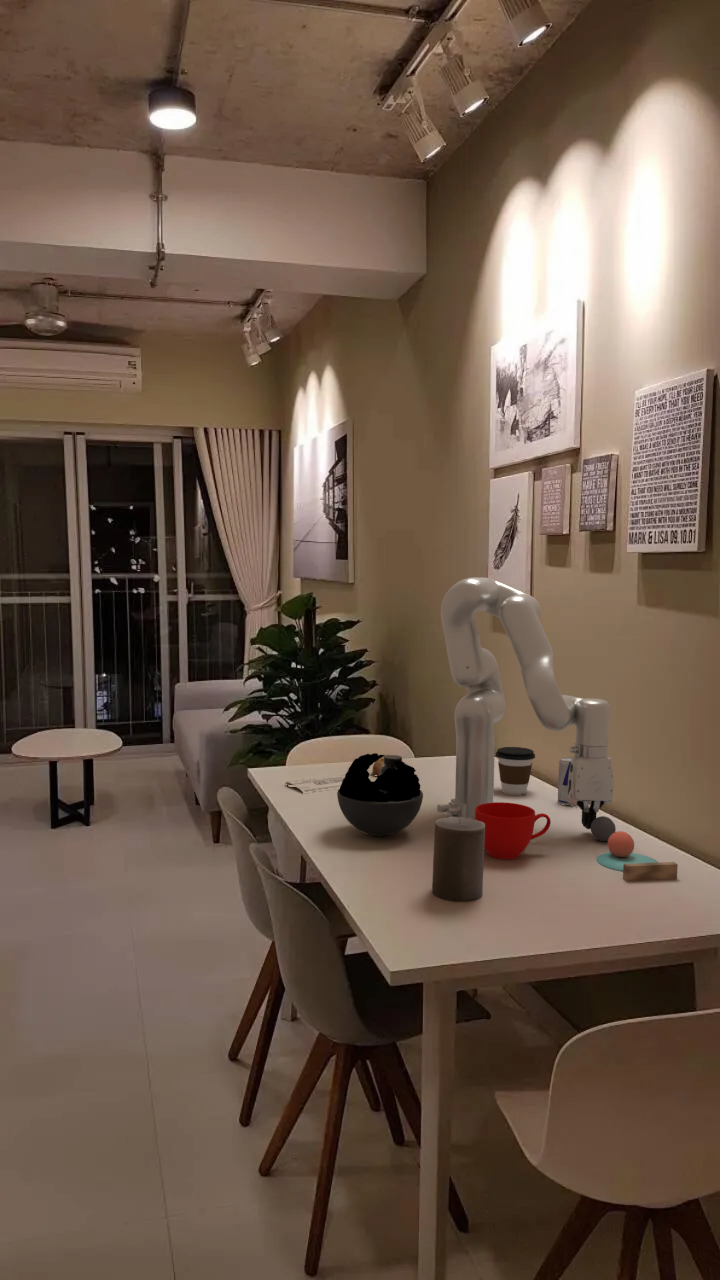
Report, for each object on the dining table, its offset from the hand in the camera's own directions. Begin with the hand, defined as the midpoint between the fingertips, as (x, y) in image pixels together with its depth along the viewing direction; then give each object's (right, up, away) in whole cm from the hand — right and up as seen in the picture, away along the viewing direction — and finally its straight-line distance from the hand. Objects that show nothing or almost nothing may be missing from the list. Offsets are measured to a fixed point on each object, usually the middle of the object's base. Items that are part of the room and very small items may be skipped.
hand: (588, 827), depth 215 cm
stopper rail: (+5, -4, -30) cm, 31 cm away
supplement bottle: (-46, +1, +27) cm, 53 cm away
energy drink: (+1, 0, +27) cm, 27 cm away
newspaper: (-64, +2, +44) cm, 78 cm away
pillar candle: (-35, -5, -40) cm, 54 cm away
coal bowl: (-50, -1, -3) cm, 50 cm away
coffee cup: (-11, +2, +38) cm, 40 cm away
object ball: (+3, 0, -17) cm, 17 cm away
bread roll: (-45, +4, +58) cm, 73 cm away
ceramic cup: (-21, -3, -16) cm, 27 cm away
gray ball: (+2, +1, -5) cm, 6 cm away
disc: (+3, -3, -21) cm, 21 cm away
